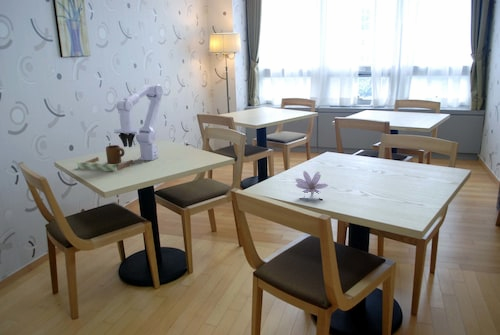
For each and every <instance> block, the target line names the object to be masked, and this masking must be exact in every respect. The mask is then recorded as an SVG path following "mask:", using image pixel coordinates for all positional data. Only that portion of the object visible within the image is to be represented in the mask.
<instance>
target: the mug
mask: <svg viewBox="0 0 500 335" xmlns="http://www.w3.org/2000/svg"><path fill="white" fill-rule="evenodd" d="M105 152H106V160H107V164H115V165H119V164H120V163H121V162H122V157H124V155H125V149H124V148H122V147H120V145H117V144H115V145H113V144H112V145H107V146H106V147H105Z"/></svg>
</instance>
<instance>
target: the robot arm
mask: <svg viewBox="0 0 500 335" xmlns="http://www.w3.org/2000/svg"><path fill="white" fill-rule="evenodd" d="M163 93H164V89H163V87H162V85H161V84H160V83H159V84H153V83H151V84H150V83H146V84H144V85H142V88H140V89H139V90H138V91H137V92H136V93H132V92H129V95H128V96H125V97H123V99H120V100H118V101H117V103H116V105H115V108H116V110H117V111H118V114H119V121H120V122H119V123H120V129H117V128H116V129H114V132H113V133H114V134H118V137H119V139H120V140H121V142H122V145H123V147H124V148H126V147H128V148H132V147H133V142H134V139H135V140H136V141H137V143H138V145H139V149H140V157H139V158H137V160H140V161H141V160H142V161H154V160H156V159H159V158H160V156H159V153H158V146H157V144H154V142H155V141H156V131H155V130H154V125H155V122H156V118H157V115H158V111H159V109H160V105H161V100H162V97H163ZM145 96H146V97H147V100H149V101H150V102H149V105H148V110H147V113H146V116H145V120H144V123H143V126H141V127H140V128H139V129H138V130H136V129H133V128H132V117H131V116H132V114H131V111H132V109H133V107H134V106H136V104H138V103H140V102H139V101H140V99H141V98H143V97H145Z"/></svg>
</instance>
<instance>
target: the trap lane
mask: <svg viewBox="0 0 500 335" xmlns="http://www.w3.org/2000/svg"><path fill="white" fill-rule="evenodd" d="M99 160H100V158H99V157H98V156H96V157H95V158H92V159H89V160H87V161H77V163H76V164H77V169H80V170H81V169H83V170H94V171H105V172H118V171H120V170H122V169H125V168H126V167H129V166H130V165H133V164H134V160H133V159H130V160H128V161H126V162H124V163H122V164H109V163H101V162H99ZM98 162H99V163H98Z"/></svg>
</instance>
